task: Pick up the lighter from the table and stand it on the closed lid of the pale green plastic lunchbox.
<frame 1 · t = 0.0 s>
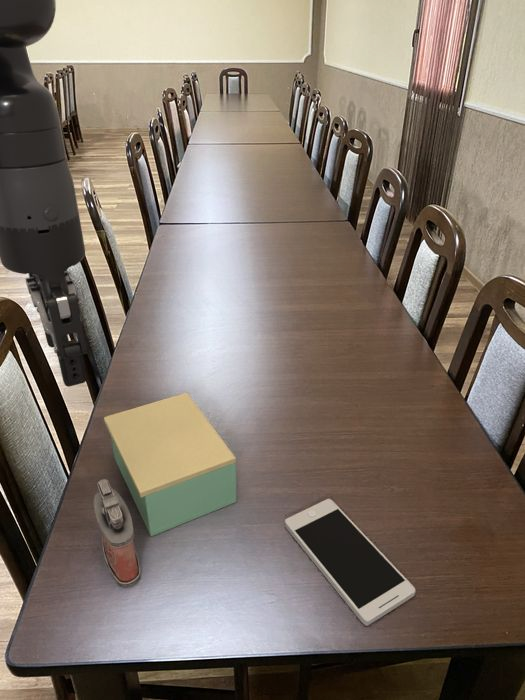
hand: (66, 362, 57), 22 cm above the table, tool pointing down, fingers open, 8 cm apart
smartphone: (345, 558, 62), on the table
lighter: (121, 560, 62), on the table
lunchbox: (172, 479, 73), on the table
lunchbox lid: (166, 438, 69), point 7 cm above the table, hinge at 0.0°
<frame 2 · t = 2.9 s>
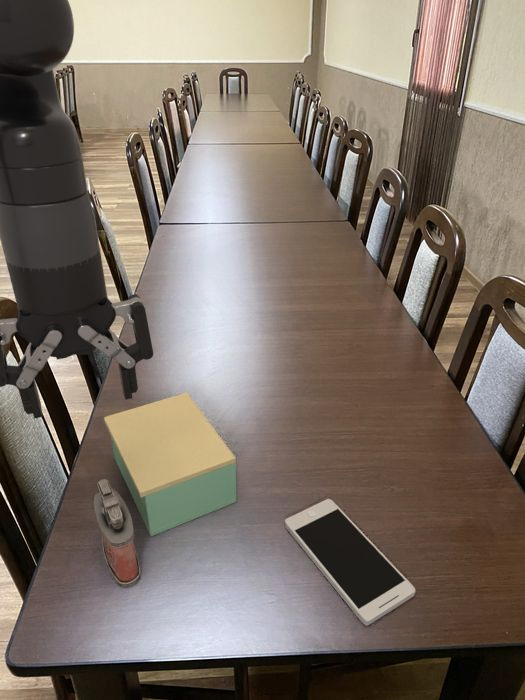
hand: (84, 403, 53), 21 cm above the table, tool pointing down, fingers open, 8 cm apart
nothing on the table moved.
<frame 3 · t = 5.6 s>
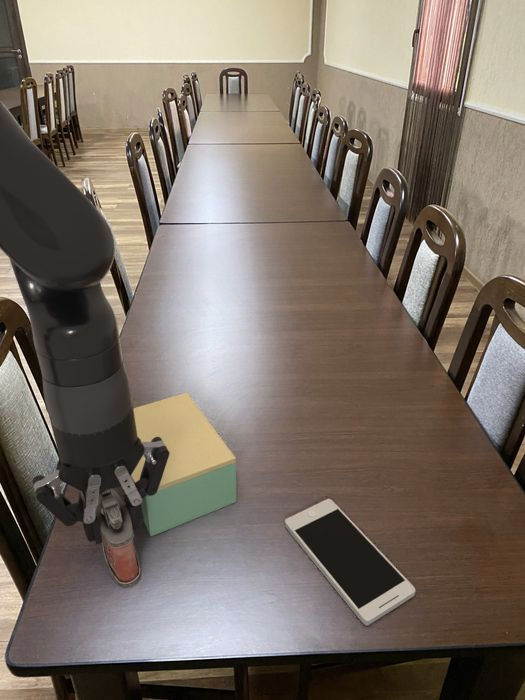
hand: (115, 530, 59), 5 cm above the table, tool pointing down, fingers closed on lighter, 3 cm apart
lighter: (121, 560, 62), on the table, touching gripper
everything else where it was.
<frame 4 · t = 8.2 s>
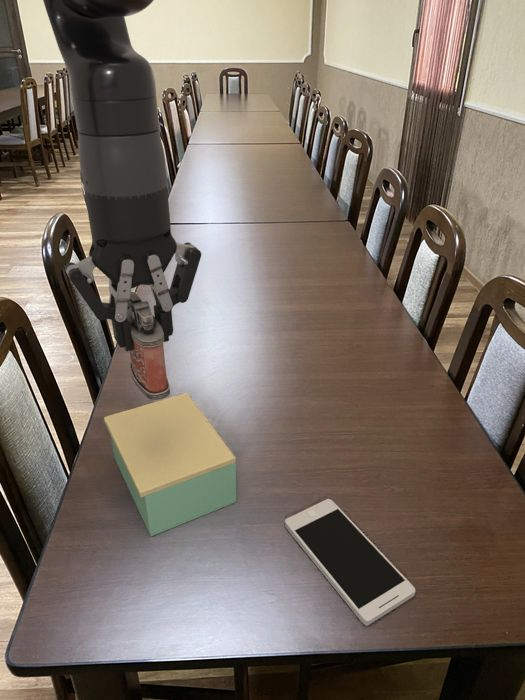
hand: (145, 342, 58), 23 cm above the table, tool pointing down, fingers closed on lighter, 3 cm apart
lighter: (150, 382, 61), point 18 cm above the table, touching gripper
everything else where it was.
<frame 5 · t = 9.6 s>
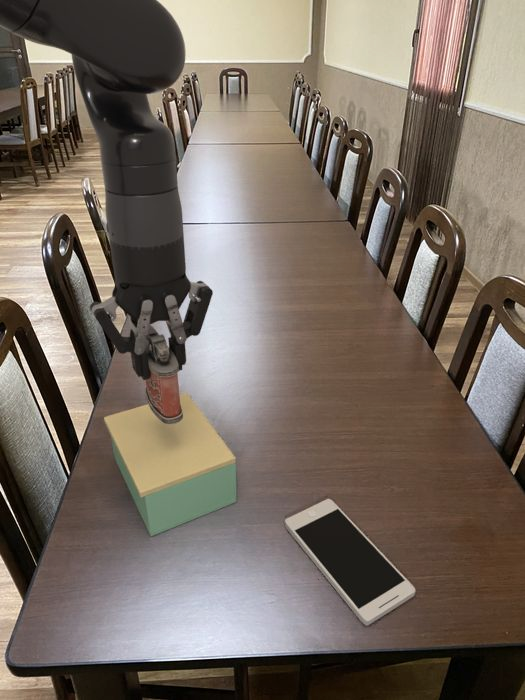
hand: (160, 371, 64), 18 cm above the table, tool pointing down, fingers closed on lighter, 3 cm apart
lighter: (164, 406, 67), point 12 cm above the table, touching gripper
everything else where it was.
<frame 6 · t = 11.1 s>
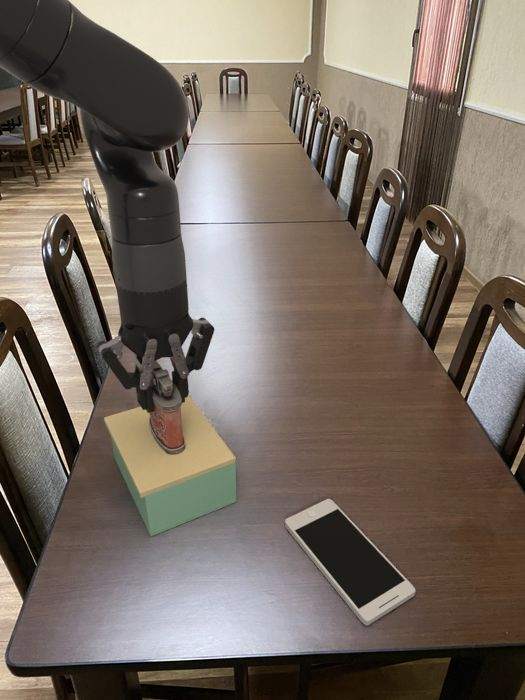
hand: (164, 403, 66), 13 cm above the table, tool pointing down, fingers closed on lighter, 3 cm apart
lighter: (167, 436, 69), point 7 cm above the table, touching gripper, lunchbox lid
lunchbox lid: (166, 439, 69), point 7 cm above the table, hinge at -0.2°, touching lighter, lunchbox
everything else where it was.
when the fingers open (13 cm above the table, at t = 11.2 s): lighter stays where it is, resting on lunchbox lid.
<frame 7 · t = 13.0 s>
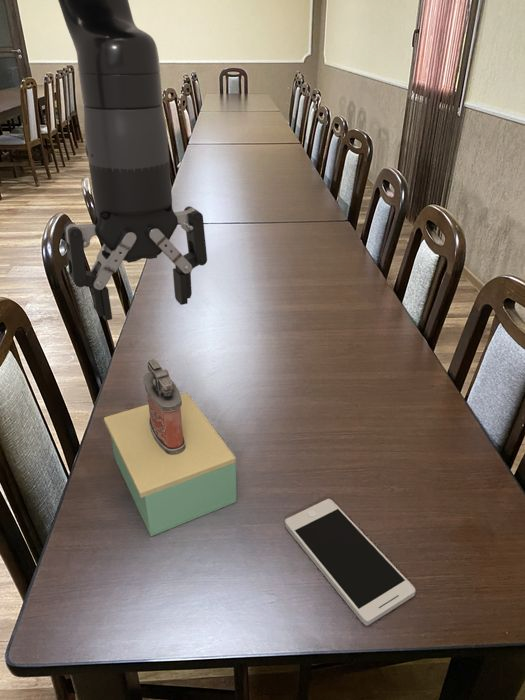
hand: (145, 309, 59), 26 cm above the table, tool pointing down, fingers open, 8 cm apart
lighter: (167, 436, 69), point 7 cm above the table, touching lunchbox lid
everything else where it was.
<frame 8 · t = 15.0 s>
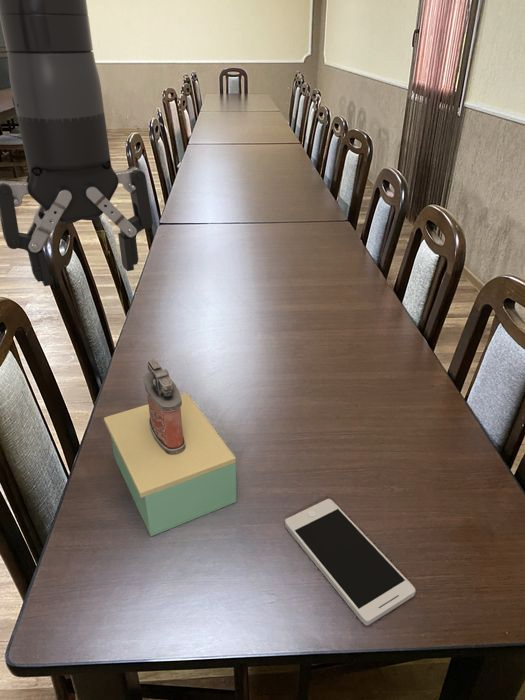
hand: (89, 275, 57), 30 cm above the table, tool pointing down, fingers open, 8 cm apart
nothing on the table moved.
at the end: lighter inside the target area on the lunchbox (0.2 cm from its centre), point 7.4 cm above the lunchbox's base; the gripper is holding nothing; lighter tilted 0° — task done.
